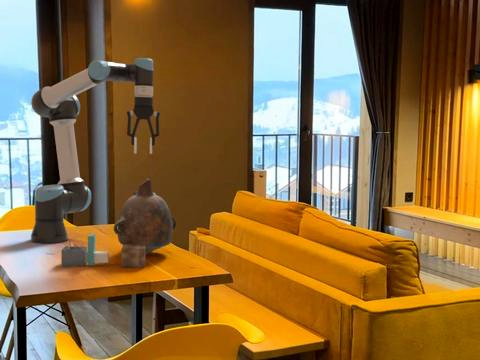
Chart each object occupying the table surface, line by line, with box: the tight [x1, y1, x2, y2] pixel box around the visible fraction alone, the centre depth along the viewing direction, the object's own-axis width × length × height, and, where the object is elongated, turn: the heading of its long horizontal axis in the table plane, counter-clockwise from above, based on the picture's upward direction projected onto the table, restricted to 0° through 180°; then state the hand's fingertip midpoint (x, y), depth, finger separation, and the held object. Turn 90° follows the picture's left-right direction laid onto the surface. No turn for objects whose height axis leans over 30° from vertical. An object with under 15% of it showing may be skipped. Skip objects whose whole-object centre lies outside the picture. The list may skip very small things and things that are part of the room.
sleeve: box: [60, 246, 88, 268], centre depth 229 cm, size 8×7×6 cm
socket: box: [121, 244, 146, 269], centre depth 231 cm, size 8×8×7 cm
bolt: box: [85, 233, 110, 266], centre depth 229 cm, size 16×5×10 cm, turn 96°
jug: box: [113, 178, 176, 255], centre depth 249 cm, size 24×21×30 cm
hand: (143, 153), depth 263 cm, fingers open, 6 cm apart
